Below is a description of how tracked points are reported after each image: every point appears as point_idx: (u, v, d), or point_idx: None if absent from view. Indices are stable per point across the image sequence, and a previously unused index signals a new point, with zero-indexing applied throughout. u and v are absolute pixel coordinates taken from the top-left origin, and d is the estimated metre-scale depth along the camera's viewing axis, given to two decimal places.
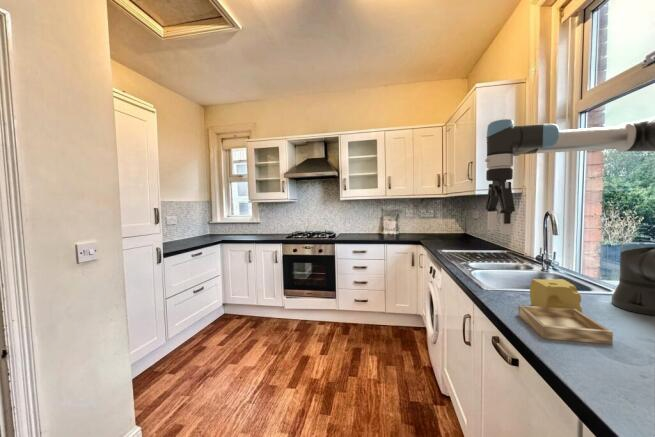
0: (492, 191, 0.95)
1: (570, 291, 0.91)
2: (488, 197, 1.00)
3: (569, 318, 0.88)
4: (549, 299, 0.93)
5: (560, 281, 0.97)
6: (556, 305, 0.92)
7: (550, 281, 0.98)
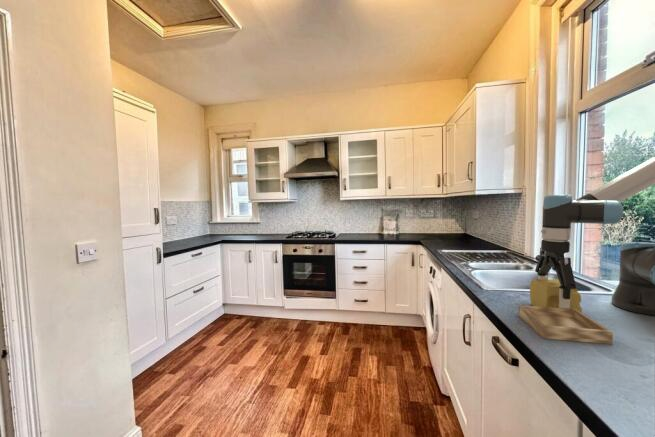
0: (546, 260, 0.97)
1: None
2: (539, 262, 1.02)
3: (569, 318, 0.88)
4: (549, 299, 0.93)
5: None
6: (556, 305, 0.92)
7: (550, 281, 0.98)
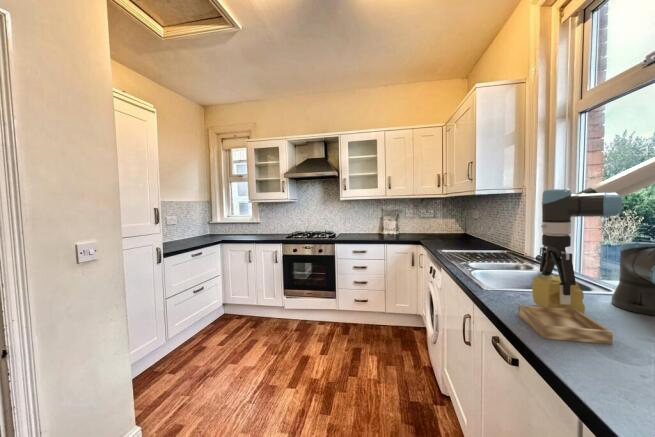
0: (548, 255, 0.96)
1: (572, 288, 0.90)
2: (542, 260, 1.01)
3: (569, 318, 0.88)
4: (551, 297, 0.93)
5: None
6: (558, 303, 0.91)
7: (552, 278, 0.97)
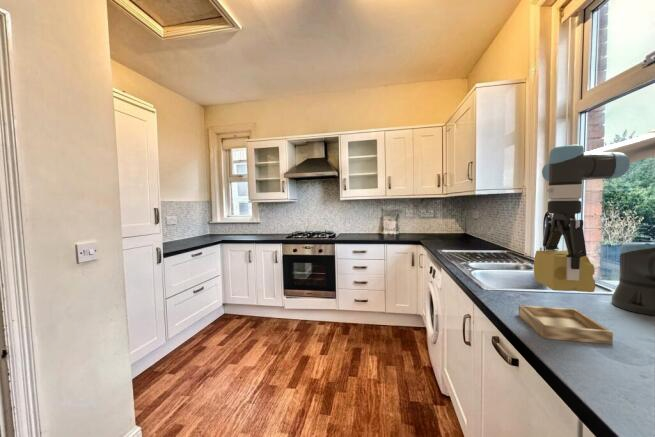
0: (554, 225, 0.83)
1: (581, 261, 0.77)
2: (547, 232, 0.88)
3: (569, 318, 0.88)
4: (556, 272, 0.80)
5: None
6: (564, 278, 0.78)
7: (558, 252, 0.84)
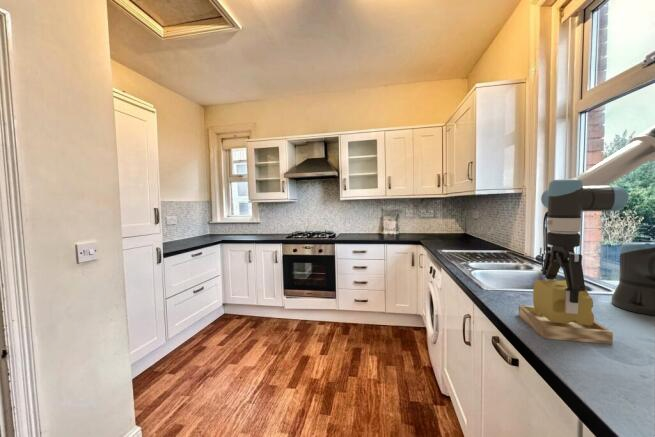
0: (553, 256, 0.84)
1: (580, 295, 0.78)
2: (546, 261, 0.89)
3: None
4: (555, 304, 0.80)
5: None
6: (563, 311, 0.79)
7: (557, 283, 0.84)
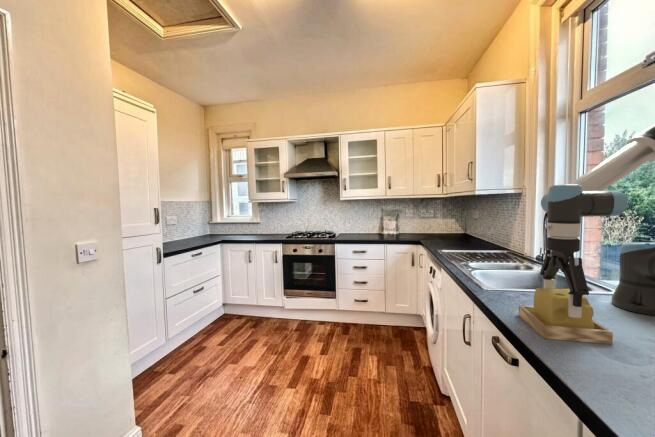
0: (553, 261, 0.84)
1: None
2: (545, 263, 0.89)
3: None
4: (556, 312, 0.81)
5: (569, 291, 0.84)
6: (563, 320, 0.79)
7: (557, 291, 0.85)
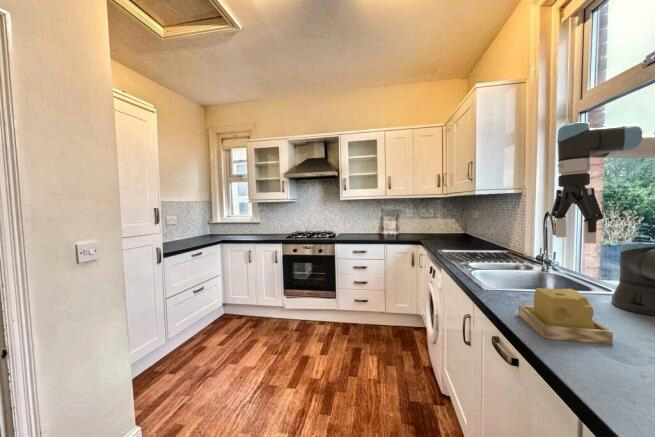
0: (565, 197, 0.90)
1: (580, 304, 0.78)
2: (556, 203, 0.96)
3: None
4: (556, 312, 0.81)
5: (569, 291, 0.84)
6: (563, 320, 0.79)
7: (557, 291, 0.85)
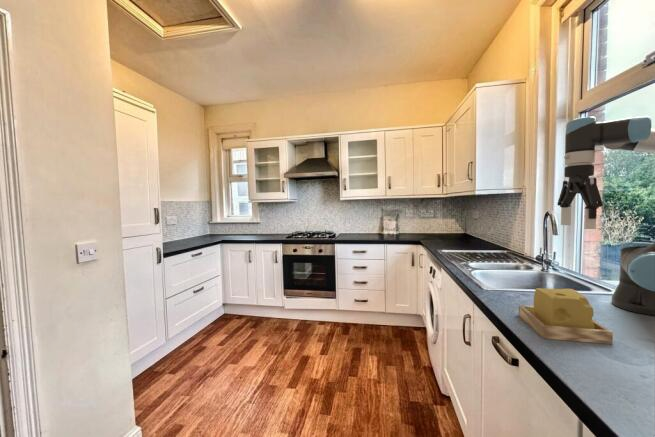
0: (570, 187, 0.97)
1: (580, 304, 0.78)
2: (562, 193, 1.02)
3: None
4: (556, 312, 0.81)
5: (569, 291, 0.84)
6: (563, 320, 0.79)
7: (557, 291, 0.85)
